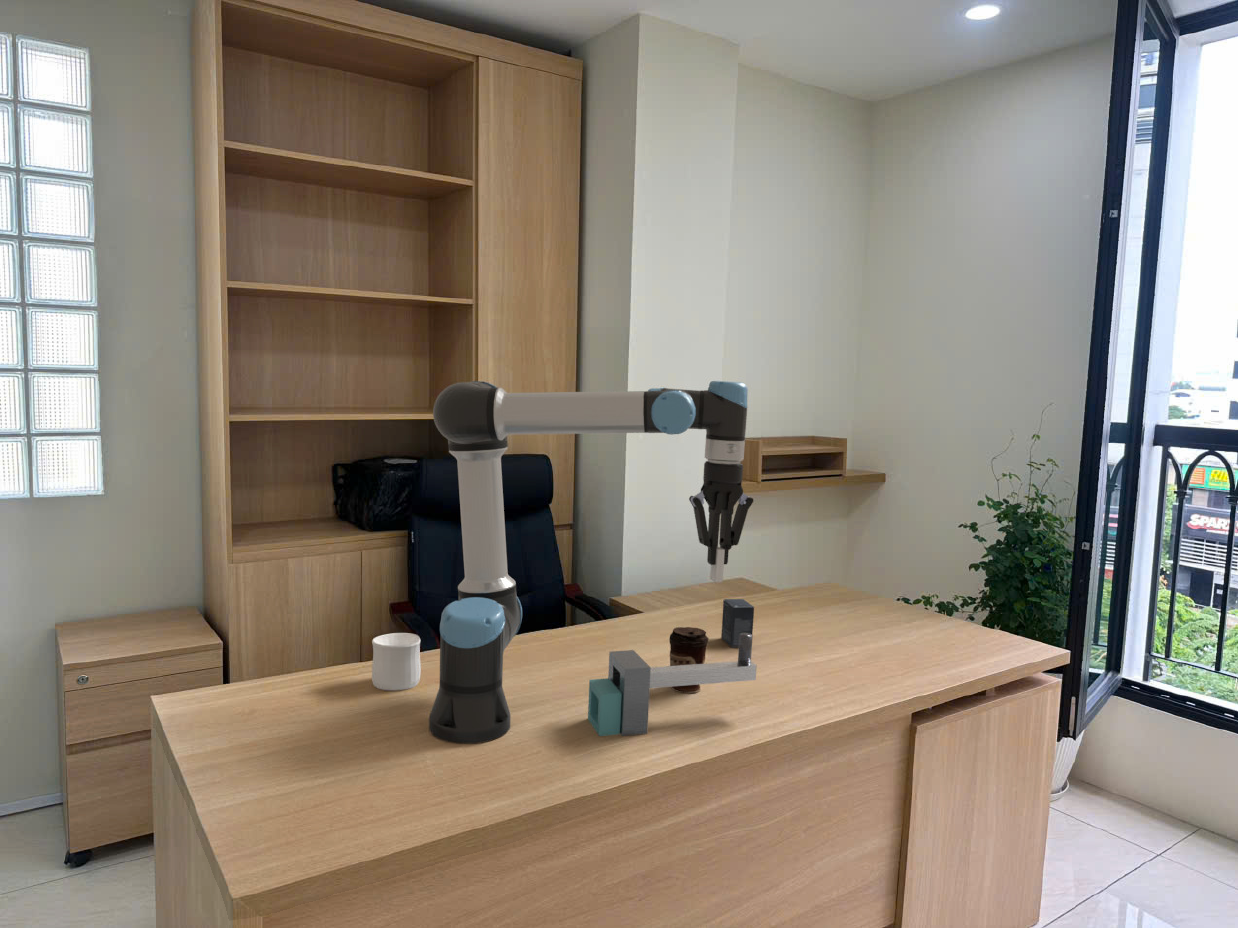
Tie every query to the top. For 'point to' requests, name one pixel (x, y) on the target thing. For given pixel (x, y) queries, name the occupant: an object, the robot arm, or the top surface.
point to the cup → (396, 661)
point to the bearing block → (631, 690)
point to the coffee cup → (687, 651)
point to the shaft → (708, 670)
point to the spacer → (604, 707)
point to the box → (736, 620)
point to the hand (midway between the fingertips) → (716, 580)
